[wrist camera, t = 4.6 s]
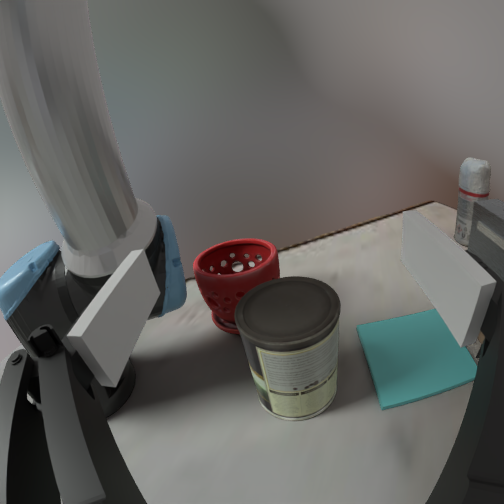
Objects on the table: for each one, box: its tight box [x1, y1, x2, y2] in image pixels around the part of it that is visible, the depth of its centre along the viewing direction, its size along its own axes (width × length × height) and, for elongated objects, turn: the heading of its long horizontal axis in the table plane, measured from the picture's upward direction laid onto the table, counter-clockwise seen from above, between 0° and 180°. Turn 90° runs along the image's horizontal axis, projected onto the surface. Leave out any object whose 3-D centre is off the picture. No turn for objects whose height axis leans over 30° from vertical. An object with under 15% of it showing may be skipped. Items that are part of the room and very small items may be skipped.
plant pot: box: [193, 239, 280, 334], centre depth 47 cm, size 13×13×12 cm
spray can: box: [454, 158, 491, 247], centre depth 51 cm, size 8×8×20 cm
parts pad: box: [356, 309, 477, 410], centre depth 33 cm, size 15×15×1 cm
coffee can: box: [234, 277, 340, 421], centre depth 31 cm, size 10×10×14 cm
